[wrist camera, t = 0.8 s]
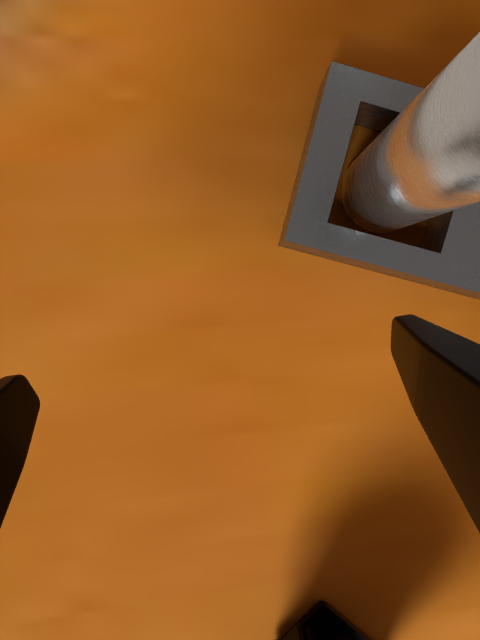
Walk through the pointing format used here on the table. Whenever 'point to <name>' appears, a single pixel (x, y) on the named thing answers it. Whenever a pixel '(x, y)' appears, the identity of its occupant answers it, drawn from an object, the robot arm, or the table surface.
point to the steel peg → (422, 154)
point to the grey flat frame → (323, 176)
